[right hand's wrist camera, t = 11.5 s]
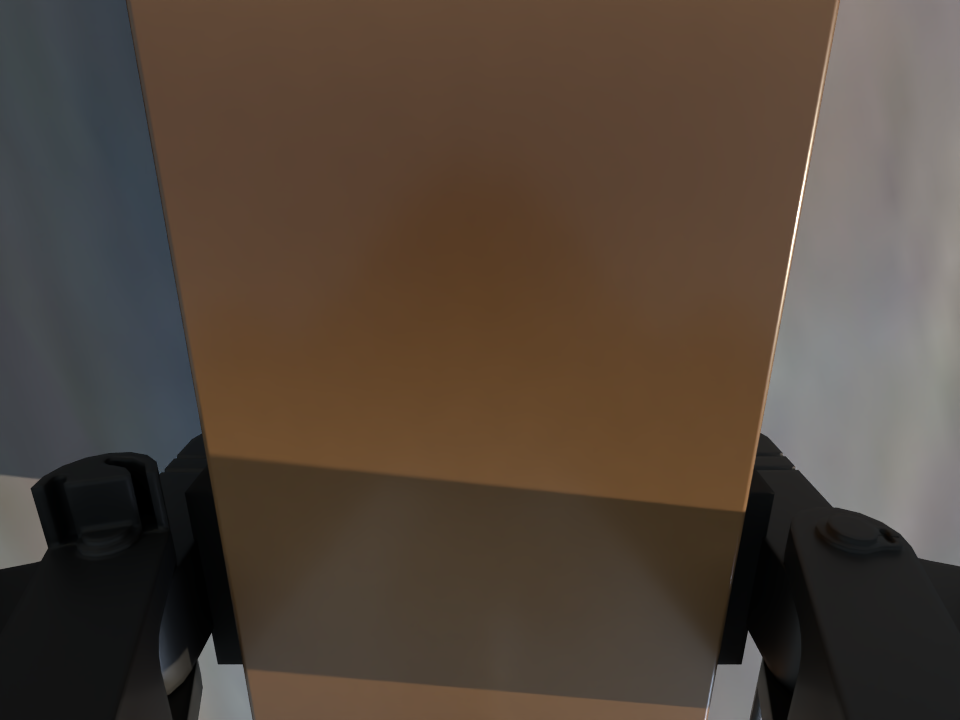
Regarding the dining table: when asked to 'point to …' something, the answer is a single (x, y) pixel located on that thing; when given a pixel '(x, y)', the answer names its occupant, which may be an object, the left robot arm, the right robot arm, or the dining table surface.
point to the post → (481, 333)
